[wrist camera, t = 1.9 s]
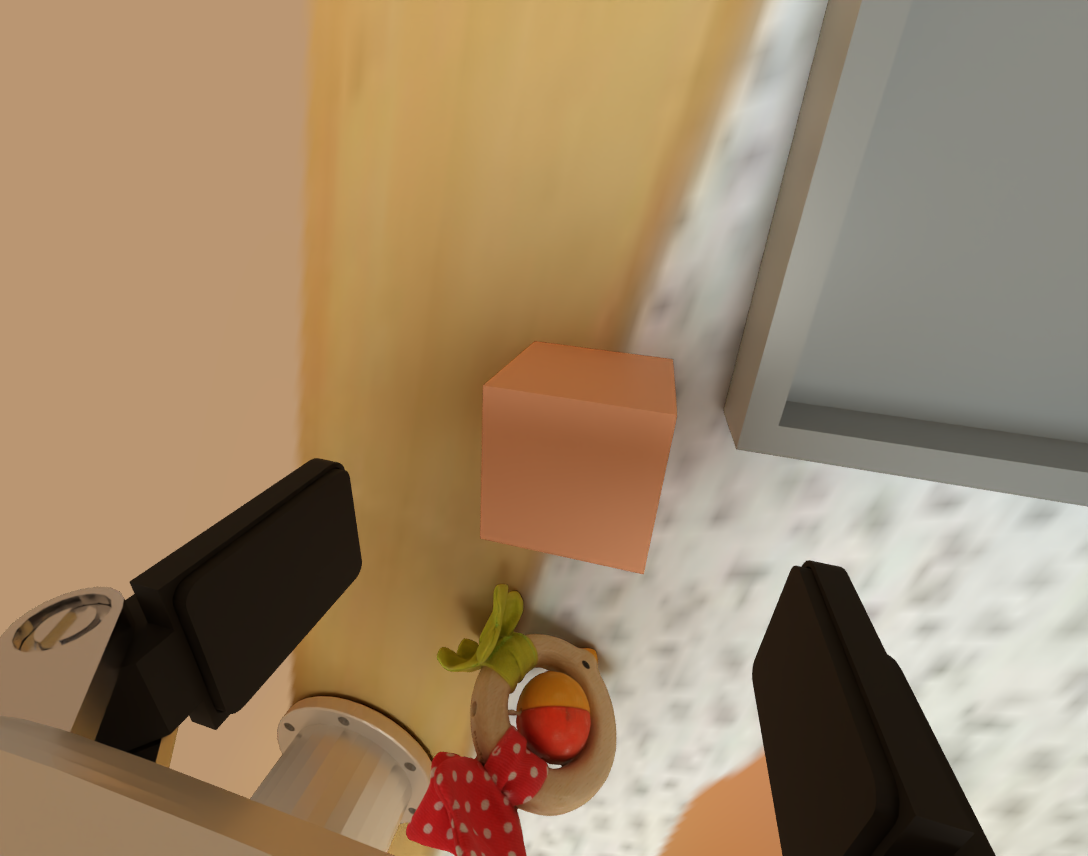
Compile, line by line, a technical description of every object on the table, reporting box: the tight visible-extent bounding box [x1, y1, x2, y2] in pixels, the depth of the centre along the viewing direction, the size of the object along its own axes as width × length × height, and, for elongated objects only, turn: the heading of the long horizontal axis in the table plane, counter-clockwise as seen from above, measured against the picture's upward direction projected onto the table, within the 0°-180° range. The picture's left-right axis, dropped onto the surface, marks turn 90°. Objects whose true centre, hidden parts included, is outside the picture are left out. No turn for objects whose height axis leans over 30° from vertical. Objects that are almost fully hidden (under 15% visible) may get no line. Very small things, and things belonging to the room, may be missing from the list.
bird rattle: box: [406, 584, 616, 856], centre depth 20 cm, size 6×11×9 cm
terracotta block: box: [480, 341, 677, 574], centre depth 16 cm, size 6×6×6 cm
